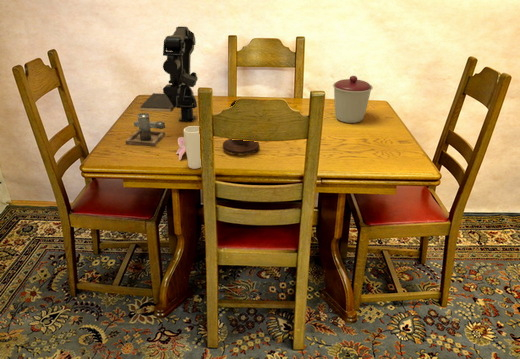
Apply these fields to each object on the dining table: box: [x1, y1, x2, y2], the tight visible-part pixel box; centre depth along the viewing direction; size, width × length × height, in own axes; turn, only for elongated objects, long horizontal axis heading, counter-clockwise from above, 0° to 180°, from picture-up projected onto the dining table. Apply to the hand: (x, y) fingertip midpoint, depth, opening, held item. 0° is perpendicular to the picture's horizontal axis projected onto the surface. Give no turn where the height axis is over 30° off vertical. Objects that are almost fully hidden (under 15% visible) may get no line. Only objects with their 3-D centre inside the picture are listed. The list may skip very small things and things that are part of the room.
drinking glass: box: [183, 125, 202, 170], centre depth 168 cm, size 7×7×15 cm
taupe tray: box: [124, 129, 166, 148], centre depth 194 cm, size 12×12×2 cm
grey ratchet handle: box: [133, 119, 166, 130], centre depth 207 cm, size 14×4×2 cm, turn 81°
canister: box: [332, 75, 373, 124], centre depth 213 cm, size 18×18×21 cm
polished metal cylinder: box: [136, 112, 152, 141], centre depth 191 cm, size 5×5×11 cm
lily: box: [175, 136, 186, 162], centre depth 179 cm, size 12×12×10 cm
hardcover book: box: [139, 92, 176, 112], centre depth 236 cm, size 16×23×2 cm
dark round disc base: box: [222, 99, 260, 157], centre depth 181 cm, size 15×15×20 cm
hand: (178, 103), depth 196 cm, fingers open, 9 cm apart
